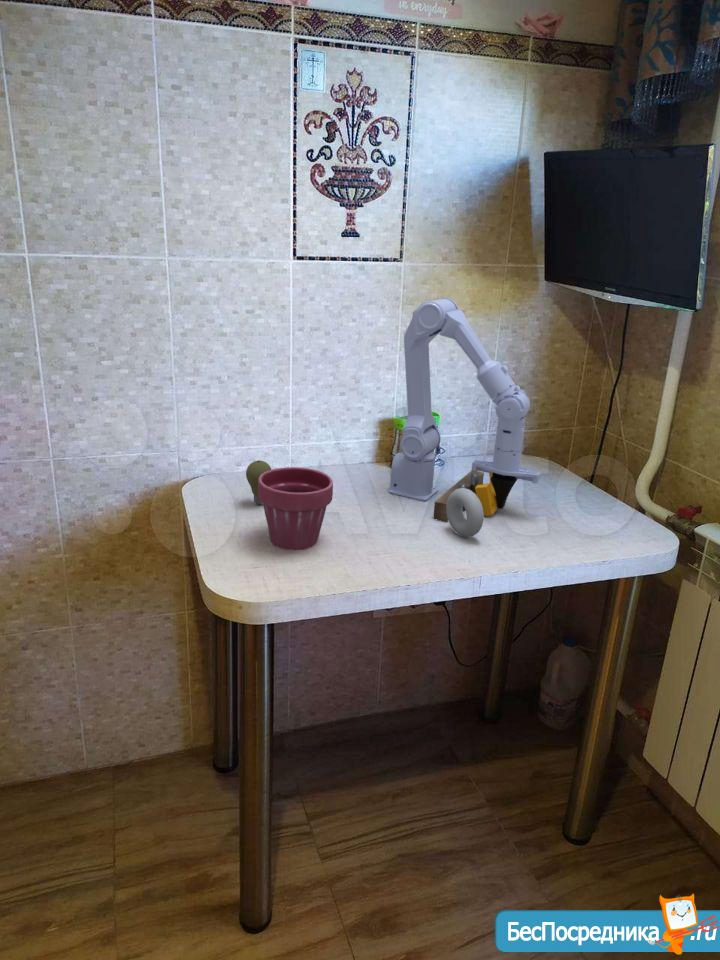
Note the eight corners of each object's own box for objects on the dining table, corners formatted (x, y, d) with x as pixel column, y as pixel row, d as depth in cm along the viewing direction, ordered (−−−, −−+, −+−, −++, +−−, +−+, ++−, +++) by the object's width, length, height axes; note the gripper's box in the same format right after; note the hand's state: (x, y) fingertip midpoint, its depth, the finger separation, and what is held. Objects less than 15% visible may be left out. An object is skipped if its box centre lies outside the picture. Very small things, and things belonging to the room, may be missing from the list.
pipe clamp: (489, 496, 165) (484, 470, 163) (507, 495, 163) (502, 468, 161) (472, 516, 155) (467, 488, 153) (492, 515, 153) (486, 487, 151)
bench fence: (433, 518, 152) (435, 492, 150) (470, 485, 172) (472, 462, 170) (452, 523, 150) (454, 497, 148) (487, 489, 170) (490, 465, 168)
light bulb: (244, 500, 156) (243, 457, 153) (269, 498, 158) (269, 456, 155) (248, 510, 151) (248, 466, 148) (274, 508, 153) (274, 464, 150)
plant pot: (345, 540, 140) (348, 479, 135) (295, 564, 129) (296, 498, 125) (294, 519, 148) (295, 461, 144) (242, 539, 138) (241, 477, 133)
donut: (440, 527, 148) (445, 482, 144) (453, 524, 150) (458, 480, 146) (471, 546, 140) (476, 499, 136) (484, 543, 142) (490, 496, 138)
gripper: (546, 449, 153) (538, 507, 157) (481, 437, 159) (475, 494, 163) (538, 458, 147) (529, 518, 151) (471, 445, 153) (465, 504, 157)
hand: (500, 506), depth 157 cm, fingers closed
